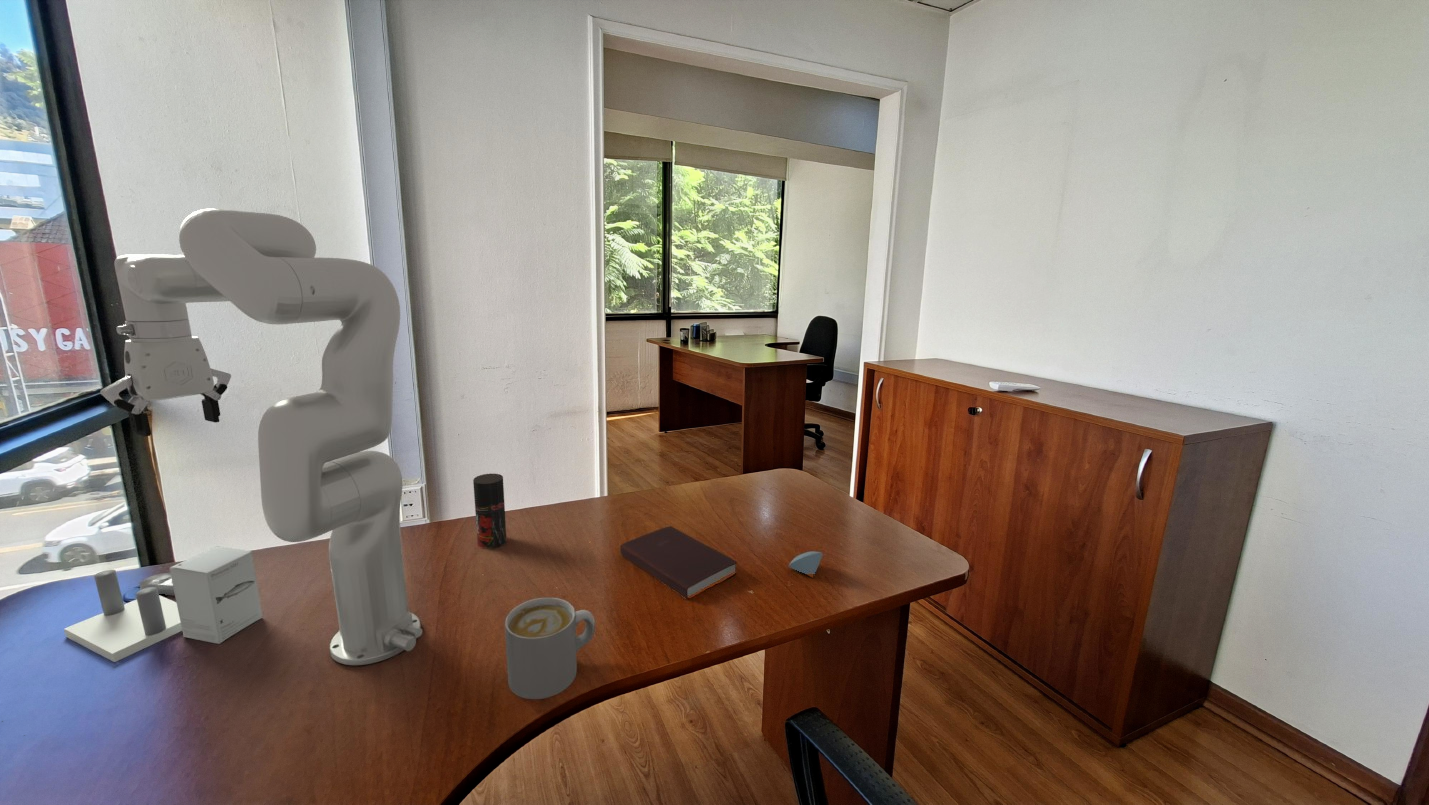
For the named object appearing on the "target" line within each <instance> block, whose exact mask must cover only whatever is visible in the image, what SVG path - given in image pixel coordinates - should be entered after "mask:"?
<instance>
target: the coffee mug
mask: <svg viewBox="0 0 1429 805" xmlns="http://www.w3.org/2000/svg"><path fill="white" fill-rule="evenodd" d="M581 621H584V624H585V627H584V631H583V632H582V633H581V634H579V635H577V626H578V624H579V623H580V622H581ZM595 629H596V620H595V617H594V616H593V613H592V612H590V611H589V610H587V609H580V610H576V609H575V607H574V606H573V605H572V604H571V603H570V602H569V601H567V600H564V599H563V598H562V599H561V598H559V597H550V596H549V597H538V598H533V599H530V600H527V601H524V602H522V603H520V604H519V605H516V606H515V607H514V608H513V609H512V610H511V611H509V612H508V614H507V616H506V617H505V621H504V635H505V651H506V652H505V653H506V667H507V668H506V669H507V681H508V682H507V683H508V687H509V689H510V691H511V692H512V693H513V694H514V695H516V696H517V697H519V698H522V699H525V700H526V699H527V700H541V699H542V700H543V699H547V698H551V697H553V696H556V695H558V694H560V693H562V692H564V690H566V689H567V688H569V686H570V685H572V683H573V682H574V681H575V678H576V677H577V673H578V670H577V669H578V666H577V664H578V663H577V662H578V661H577V653H578V651H579V650H580V649H582V648H583V647H585V645H587V644H588V643H589V642H590V641H591V640H592V639H593V637H594V635H595V631H596V630H595Z"/></svg>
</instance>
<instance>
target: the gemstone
mask: <svg viewBox="0 0 1429 805" xmlns="http://www.w3.org/2000/svg"><path fill="white" fill-rule="evenodd" d="M823 554H824V553H823V552H821V551H814V550H813V551H812V550H811V551H807V552H803V553H802V554H798V555H797V556H795V557H794V558H793V559H792V560H791V561H790V563H789V564H788V567H789V568H790V569H792V570H795V571H796V570H797V571H796V572H798V571H799V573H800V572H802V573H805V574H816V573H815V572H817V569H818V568H819V565H820V562H821V560H822V557H823ZM802 573H801V574H802Z"/></svg>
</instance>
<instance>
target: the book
mask: <svg viewBox="0 0 1429 805" xmlns="http://www.w3.org/2000/svg"><path fill="white" fill-rule="evenodd" d="M620 555H621V556H622V557H623V558H624V559H626V560H628V561H629V562H630V563H632V564H634V565H636V566H637V567H638V568H640V569H641V570H643V571H644V572H645V571H646V573H647V572H648V573H649V574H648V573H647V574H648V575H650V574H651V575H652V577H653V576H654V577H655V578H654V577H653V578H654V579H656V578H657V579H658V580H657V579H656V580H657V581H659V580H660V581H661V582H663V583H664V584H666V585H667V586H669V587H670V588H671V589H670V588H669V587H668V588H669V589H670V590H672V589H673V590H675V591H676V592H678V593H679V594H680V595H682V596H683V597H685V598H686V599H688V597H689V596H691V595H692V594H695V593H696V592H698V591H700V590H701V589H704V588H705V587H707V586H709V585H710V584H712V583H714V582H716V581H718V580H720V579H721V578H723V577H725V576H727V575H729V574H731V573H733V572H735V571H736V565H737V564H738V562H737V561H736V560H734V559H733V558H731V557H730V556H728V555H726V554H725V553H722V552H721V551H718V550H717V549H715V548H713V547H711V546H709V545H707V544H705V543H703V542H701V541H700V540H697V539H696V538H693V537H692V536H690V535H688V534H686V533H685V532H683V531H681V530H679V529H677V528H675V527H673V526H666V527H663V528H659V529H656V530H654V531H652V532H649V533H645V534H644V535H641V536H639V537H635V538H633V539H631V540H629V541H627V542H624V543H622V544H621V545H620ZM651 575H650V576H651ZM660 581H659V582H660ZM661 582H660V583H661ZM663 583H662V584H663ZM664 584H663V585H664ZM666 585H665V586H666ZM667 586H666V587H667ZM673 590H672V591H673ZM676 592H675V593H676ZM679 594H678V595H679ZM680 595H679V596H680ZM683 597H682V598H683ZM686 599H685V600H686Z"/></svg>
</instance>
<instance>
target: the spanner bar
mask: <svg viewBox="0 0 1429 805" xmlns="http://www.w3.org/2000/svg"><path fill="white" fill-rule="evenodd" d="M149 587H157V589H158V593H161V594H165V595H164V596H175V593H174V588H173V583H172V578H171V574H170V572H163V573H158V574H157V573H156V574H153V575H151V576H148V577H146V578H144V579H143V580H141V581H140V582H139V588H140V589H139V590H142V589H145V588H149Z"/></svg>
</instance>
